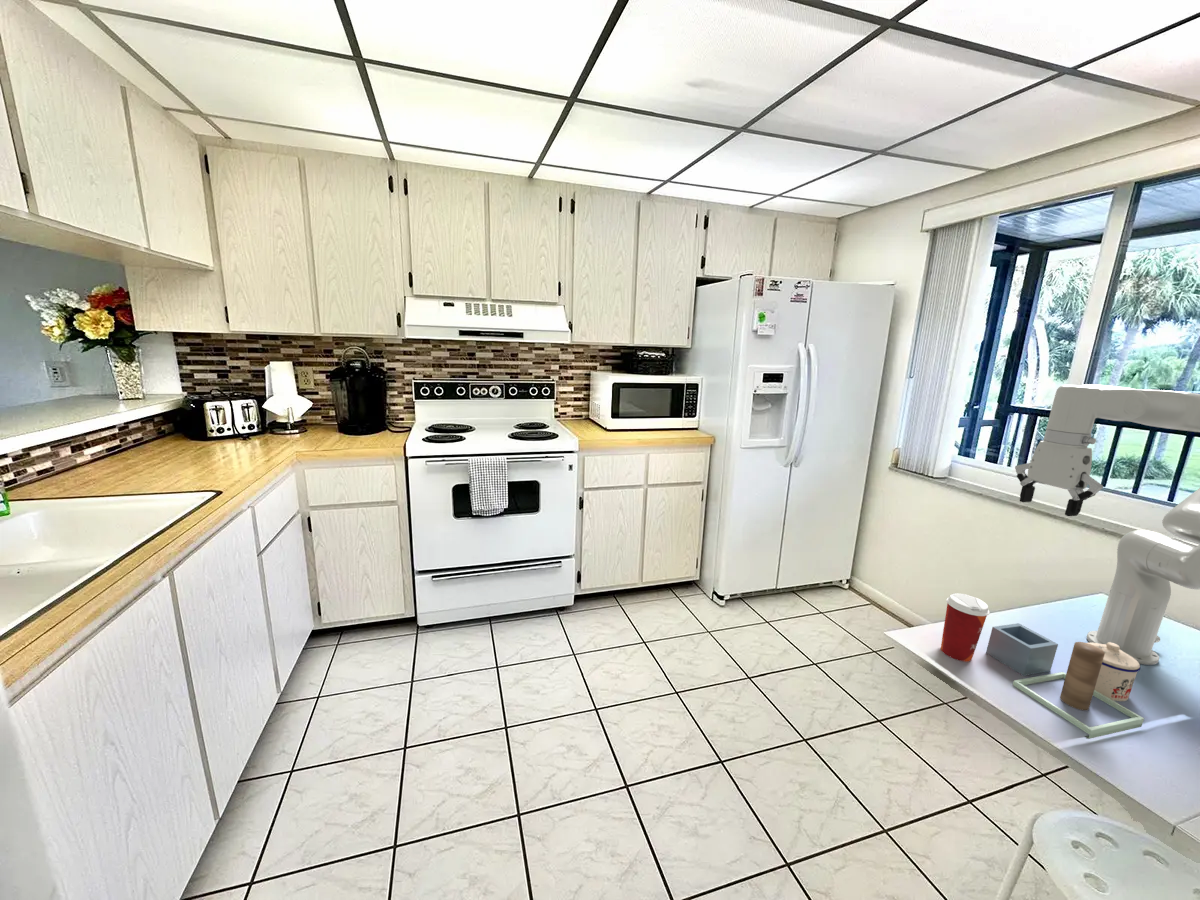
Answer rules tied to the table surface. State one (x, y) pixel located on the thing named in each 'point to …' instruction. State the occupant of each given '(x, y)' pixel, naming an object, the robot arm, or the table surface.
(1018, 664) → the deep square box
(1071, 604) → the table surface
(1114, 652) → the teacup with lid
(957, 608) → the coffee cup
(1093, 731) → the tray
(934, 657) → the table surface
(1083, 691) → the peg
